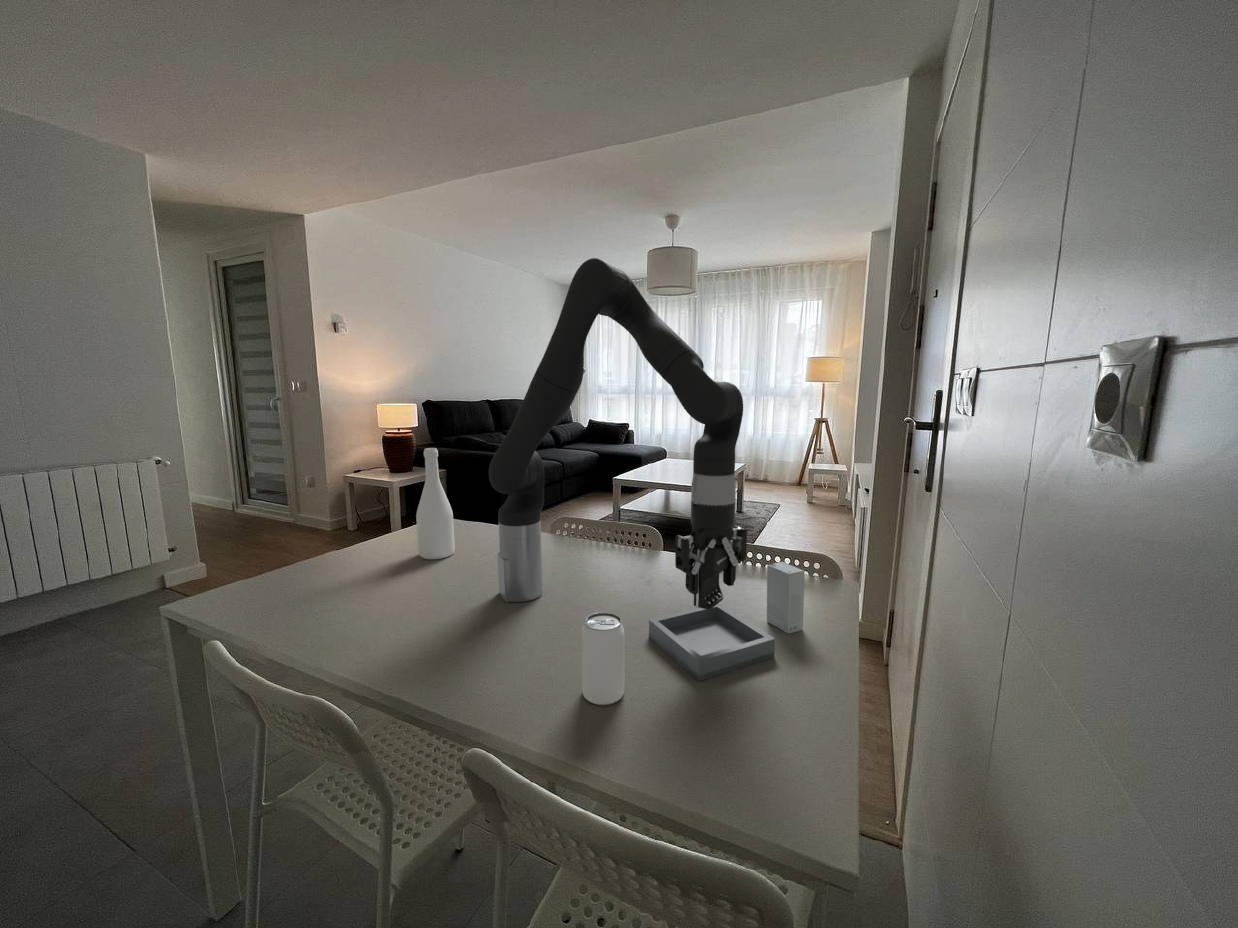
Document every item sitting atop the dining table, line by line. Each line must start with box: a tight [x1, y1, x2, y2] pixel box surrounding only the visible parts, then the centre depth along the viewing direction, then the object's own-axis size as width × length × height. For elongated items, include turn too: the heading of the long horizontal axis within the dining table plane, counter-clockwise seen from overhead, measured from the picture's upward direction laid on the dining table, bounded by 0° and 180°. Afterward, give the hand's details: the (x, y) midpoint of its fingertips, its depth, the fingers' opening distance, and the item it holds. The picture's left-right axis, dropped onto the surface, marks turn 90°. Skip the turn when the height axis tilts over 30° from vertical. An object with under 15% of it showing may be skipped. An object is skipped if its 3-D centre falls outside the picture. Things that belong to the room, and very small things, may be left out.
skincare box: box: [766, 561, 805, 634], centre depth 98 cm, size 6×4×12 cm
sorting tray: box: [648, 602, 776, 682], centre depth 90 cm, size 16×16×4 cm
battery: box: [693, 545, 728, 609], centre depth 89 cm, size 7×4×11 cm, turn 142°
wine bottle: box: [415, 447, 456, 560], centre depth 138 cm, size 10×10×30 cm
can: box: [581, 612, 625, 706], centre depth 76 cm, size 6×6×12 cm
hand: (710, 588), depth 89 cm, fingers closed on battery, 7 cm apart
